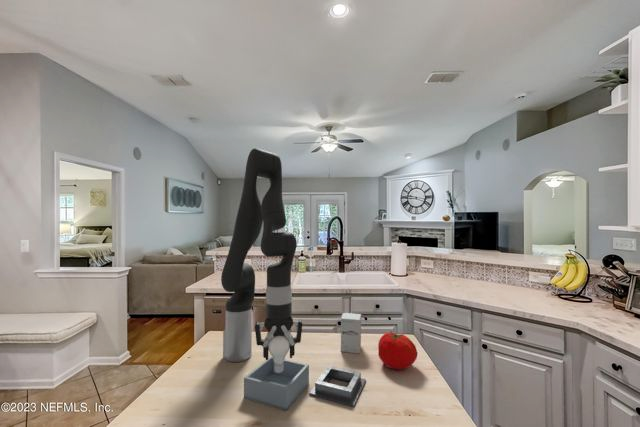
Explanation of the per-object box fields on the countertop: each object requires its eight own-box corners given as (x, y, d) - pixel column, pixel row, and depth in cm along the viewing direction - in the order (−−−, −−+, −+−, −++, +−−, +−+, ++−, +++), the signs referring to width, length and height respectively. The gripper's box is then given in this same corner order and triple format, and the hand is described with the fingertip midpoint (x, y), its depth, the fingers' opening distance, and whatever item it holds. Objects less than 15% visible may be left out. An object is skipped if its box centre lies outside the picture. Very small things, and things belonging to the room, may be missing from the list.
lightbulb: (269, 380, 78) (269, 340, 78) (266, 369, 84) (266, 331, 84) (292, 376, 80) (292, 337, 80) (287, 365, 86) (287, 329, 86)
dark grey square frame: (309, 395, 79) (309, 384, 79) (326, 372, 91) (326, 362, 91) (353, 407, 74) (353, 395, 74) (365, 381, 86) (365, 371, 86)
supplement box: (340, 352, 105) (340, 318, 106) (342, 343, 112) (342, 312, 113) (360, 354, 104) (359, 319, 104) (361, 345, 111) (361, 313, 111)
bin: (243, 397, 78) (243, 377, 78) (270, 373, 90) (270, 356, 91) (286, 410, 73) (286, 389, 73) (308, 382, 85) (308, 364, 85)
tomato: (370, 360, 99) (370, 330, 99) (398, 353, 104) (398, 325, 104) (394, 379, 87) (394, 345, 87) (425, 371, 92) (424, 338, 92)
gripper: (302, 295, 87) (302, 350, 87) (255, 297, 85) (255, 353, 85) (304, 302, 80) (304, 362, 79) (252, 305, 78) (252, 366, 77)
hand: (279, 357), depth 82 cm, fingers closed on lightbulb, 6 cm apart
